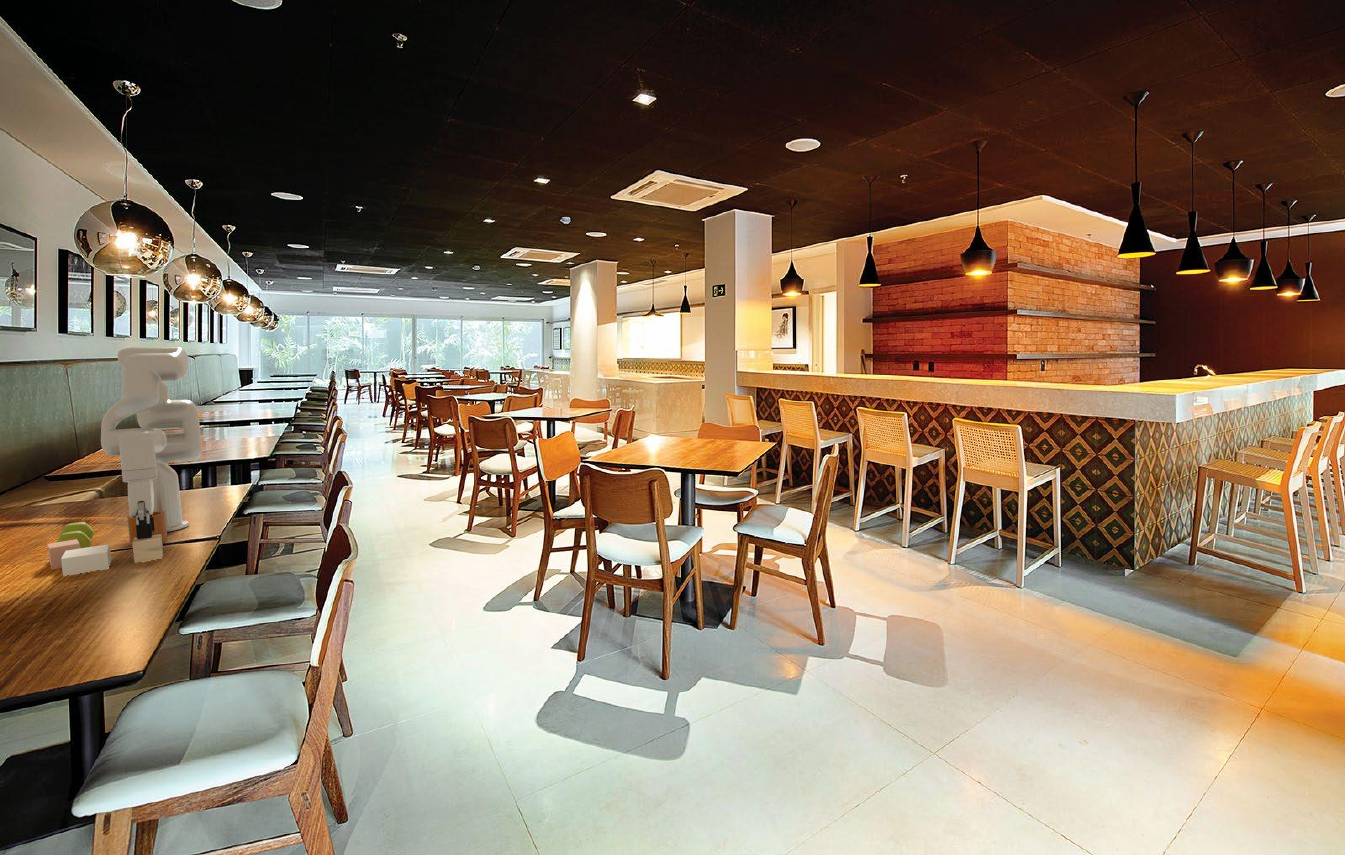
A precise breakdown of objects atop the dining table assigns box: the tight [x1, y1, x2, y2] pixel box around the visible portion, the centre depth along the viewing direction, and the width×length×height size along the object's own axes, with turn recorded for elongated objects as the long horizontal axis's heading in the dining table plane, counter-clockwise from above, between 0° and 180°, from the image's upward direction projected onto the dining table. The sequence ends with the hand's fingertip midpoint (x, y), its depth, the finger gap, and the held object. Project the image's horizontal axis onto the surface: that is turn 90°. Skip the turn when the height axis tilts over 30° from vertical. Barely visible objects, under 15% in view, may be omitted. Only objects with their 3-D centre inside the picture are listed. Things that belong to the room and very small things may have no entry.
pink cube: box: [46, 539, 80, 570], centre depth 176 cm, size 6×6×6 cm
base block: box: [61, 543, 112, 577], centre depth 173 cm, size 9×9×5 cm
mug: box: [126, 511, 168, 548], centre depth 194 cm, size 9×12×9 cm
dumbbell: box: [55, 521, 95, 548], centre depth 188 cm, size 16×8×7 cm, turn 39°
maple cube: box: [132, 534, 164, 564], centre depth 181 cm, size 6×6×6 cm
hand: (146, 534), depth 179 cm, fingers open, 9 cm apart
